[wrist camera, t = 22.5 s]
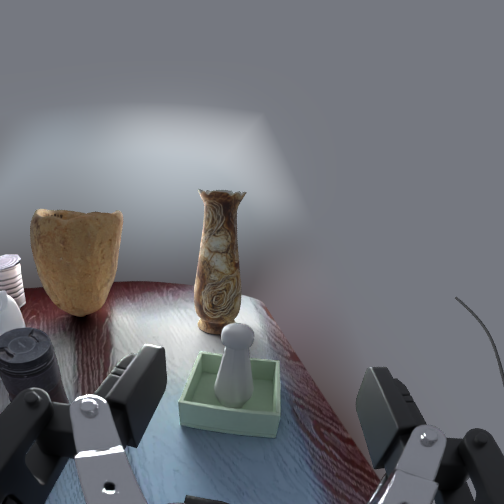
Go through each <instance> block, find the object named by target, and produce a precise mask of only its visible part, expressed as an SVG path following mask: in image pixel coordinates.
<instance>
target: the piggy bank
mask: <svg viewBox="0 0 504 504" xmlns="http://www.w3.org/2000/svg"><path fill="white" fill-rule="evenodd" d="M16 328H25V323H24V320H23V317H22V314H21V311H20V309H19V307H18V305H17V303H16V302H15V301H14V299H13V298H12V297H10V296H9V295H7V293H6V291H0V336H1V335H2V334H3V333H5V332H7V331H10V330H13V329H16Z"/></svg>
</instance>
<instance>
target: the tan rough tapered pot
mask: <svg viewBox="0 0 504 504" xmlns="http://www.w3.org/2000/svg"><path fill="white" fill-rule="evenodd" d="M122 225H123V215H122V212H120V211H119V210H117V211H116V212H114V213H112V214H110V213H100V212H91V213H87V214H85V213H81V212H74V211H67V210H57V211H54V210H46V209H38V210H36V211H35V213H34V215H33V217H32V221H31V226H30V237H31V248H32V252H33V256H34V261H35V264H36V268H37V272H38V275H39V277H40V280H41V283H42V285H43V287H44V289H45V291H46V293H47V294H48V295H49V297H50V299H51V300H52V301H53V302H54V303H55V304H56V305H57V306H58V307H59V308H60V309H62V310H64V311H65V312H67V313H69V314H71V315H75V316H80V317H83V316H85V315H88V314H92V313H94V312H96V311H97V310H99V309H100V308H101V307H102V306H103V304H104V303H105V301H106V299H107V296H108V293H109V290H110V288H111V286H112V283H113V281H114V278H115V275H116V271H117V261H118V253H119V247H120V241H121V233H122Z"/></svg>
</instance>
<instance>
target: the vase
mask: <svg viewBox="0 0 504 504" xmlns="http://www.w3.org/2000/svg"><path fill="white" fill-rule="evenodd" d="M198 192H199V193H200V195H201V198H202V200H203V202H204V206H205V210H204V222H203V231H202V239H201V245H200V252H199V260H198V265H197V273H196V280H195V288H194V304H195V309H196V313H197V315H198V316H199V317H200V318H201V319H200V320H199V322H198V327H199V328H200V329H201V330H202V331H204V332H207V333H210V334H221V333H222V330H223V328H224V327H225V326H226V325H228V324H232V323H235V321H234V319H235V318H236V317H237V315H238V313H239V310H240V305H241V280H240V269H239V255H238V244H237V209H238V206H239V204H240V202H241V200H242V199H243V197H244V196H245V194H246V192H243V193H242V194H241V192H240V191H239V192H235V193H233V192H232V191H228V190H216V191H208V190H207V191H206V192H205V191H203V190H200V189H199V190H198Z"/></svg>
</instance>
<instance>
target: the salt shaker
mask: <svg viewBox="0 0 504 504" xmlns="http://www.w3.org/2000/svg"><path fill="white" fill-rule="evenodd" d="M221 340H222V343H223V345H225V349H224V353H223V357H222V360H221V364H220V367H219V371H218V374H217V378H216V381H215V385H214V392H215V395H216V397H217V399H218V401H219V403H220V404H221V405H223V406H225V407H227V408H234V409H236V408H242V407H243V405H244V404H245V403H246V402H247V401H248V400H249V399H250V398H251V397H252V394H253V391H254V387H253V379H252V370H251V362H250V353H249V347H251V345H252V343H253V341H254V332H253V330H252V329H251V328H250V327H249V326H247V325H245V324H241V323H232V324H228V325H226V326H225V327H224V328H223V330H222V333H221Z"/></svg>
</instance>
